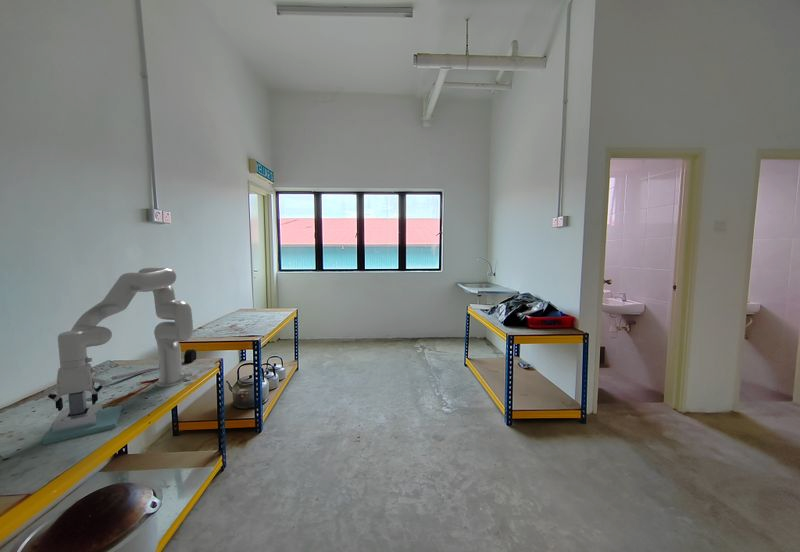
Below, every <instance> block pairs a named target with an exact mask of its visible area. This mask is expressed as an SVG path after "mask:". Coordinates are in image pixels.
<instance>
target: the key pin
mask: <svg viewBox="0 0 800 552" xmlns="http://www.w3.org/2000/svg"><path fill="white" fill-rule="evenodd" d="M67 395H68V396H67V397H68V406H69V407H68V409H70V416H75V415H80V414H85V413H87V406H86V405H87V397H86V396H87V395H86V391H85V392H79V393H73V394H67Z"/></svg>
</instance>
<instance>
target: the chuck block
mask: <svg viewBox="0 0 800 552" xmlns="http://www.w3.org/2000/svg"><path fill="white" fill-rule="evenodd" d="M86 406H87V413H85V414H80V415H75V416H70V409H69V408H66V409H64V408H63V409H62V410H61V411H59V413H58V414H57V416H55V418H54V420H53V421H52V423H51V426H50V428H49V429H48V431H47V432H46V433H45V435H44V436H43V438H42V439H41V443H42V446H43V445H47V444H51V443H52V444H53V443H58V442H62V441H65V440H70V439H73V438H77V437H78V438H79V437H83V436H86V435H90V434H91V433H92V434H95V432H96V433H99V432H100V433H101V432H103V431H104V430H105V431H109V430H112V429H113V430H114V429H116V428H117V426H116V425H117V424H118V422H119V419H120V418H121V417H120V416H121V414H122V412H121V411H123V410H124V409H123V404H120V405H116V406H111V407H106V408H105V407H104V408H103V403H102V402H96V403H95V404H94V405H93V404H92V403H91V404H86Z"/></svg>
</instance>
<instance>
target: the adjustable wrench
mask: <svg viewBox="0 0 800 552" xmlns="http://www.w3.org/2000/svg"><path fill="white" fill-rule="evenodd" d="M158 370H159V366H155V365H152V366H148V367H147V366H146V367H145V368H142V369H138V370H135V371H130V372H126V373H125V372H124V373H122V374H117V375H114V376H113V375H112V376H111V381H114V380H119V379H124V378H127V377H131V376H136V375H139V374H143V373H148V372H153V371H158Z"/></svg>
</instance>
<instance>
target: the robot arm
mask: <svg viewBox="0 0 800 552" xmlns="http://www.w3.org/2000/svg"><path fill="white" fill-rule="evenodd" d="M176 279H177V273H176V272H175V271H174V270H173V269H171V268H167V267H165V268H164V267H144V268H141V269H139V271H137V272H126V273H123V274H121V275H120V276H119V278H117V280H116V282H115V283H114V284H113V286H112V287H111V288H110V290H109V292H108V293H107V294H106V295H105V297H104V298H103V300H101V301H100V302H98V303H97V304H95V305H94V306H92V307H91V308H89V309H88V310H87V311H85V312H84V313H83V314H82V315H81V316H80V317H79V318H78V320H76V322H75V323H74V325H72V328H71V330H67V331H64V332H61V333H59V334H58V336H57V344H58V346H57V348H58V356H59V357H58V358H59V366H60V367H59V368H58V370H57V374H56V384H54V385H52V386H50V387H48V388H46V389H45V390H44V391H43V393H44V394H45V395H46V396H47V397H48V399H51V400H52V401H54V402H55V409H57V411H58V412H61V410H63V409H64V404H63V403H64V402H63V398H62V397H63V396H67V395H69V394H73V393H79V392H85V393H86V392H90V393H91V404H93V405H94V404H96V403H97V402H98V400H99V397H98V393H99V392H100V391H101V390H102V389H103V387H104V385H105V383H106V381H107V380H106V379H101V378H97V377H95V374H94V371H93V366H92V364H91V363H92V361H93V358H92V357H89V356H88V353H87V352H88V351H87V348H90V347H98V346H102V345H104V344H107V343H108V342H109V341H110V340H111V339H112V336H113V334H112V330H110V328H108V327H105V326H99V323H100V322H102V321H103V320H105V319H106V318H108V317H110V316H113V315H116V314H119V313H121V312H123V311H125V310H126V309H127V308H128V307H129V305H130V304H131V302H132V300H133V299H134V297H135V296H136V295H137V293H149V292H152V293H153V298H154V309H155V310H154V311H155V315H156V317H157V318H158V319H160V320H167V321H162V322H160V323H158V324H157V325H156V326H155V328H154V330H153V333H154V334H153V335H154V339H155V341H156V346H157V359H158V360H157V361H158V367H159V369H158V371H159V380H158V381H156V383H155V385H156V387H159V388H168V387H169V388H170V387H174V386H178V385H180V384H182V383H184V382H185V381H186V380H187V377H193V371H192V372H191V371H188V372H187V371H186V372H184V370H183V365H182V353H181V352H182V350H181V349H182V348H181V344H180V342H187V341H189V340H190V339H191V337H192V336H193V334H194V324H193V322H194V321H193V312H192V307H191V305H190V304H189V303H188V302H186V301H183V300H176V293H175V290H174V287H173V284H175V282H176ZM168 320H169V321H168ZM97 325H98V326H97ZM95 383H96V384H99V385H98V386H97V387H95V385H96V384H95ZM54 390H56V393H57V394H55V393H53V392H52V391H54Z"/></svg>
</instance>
